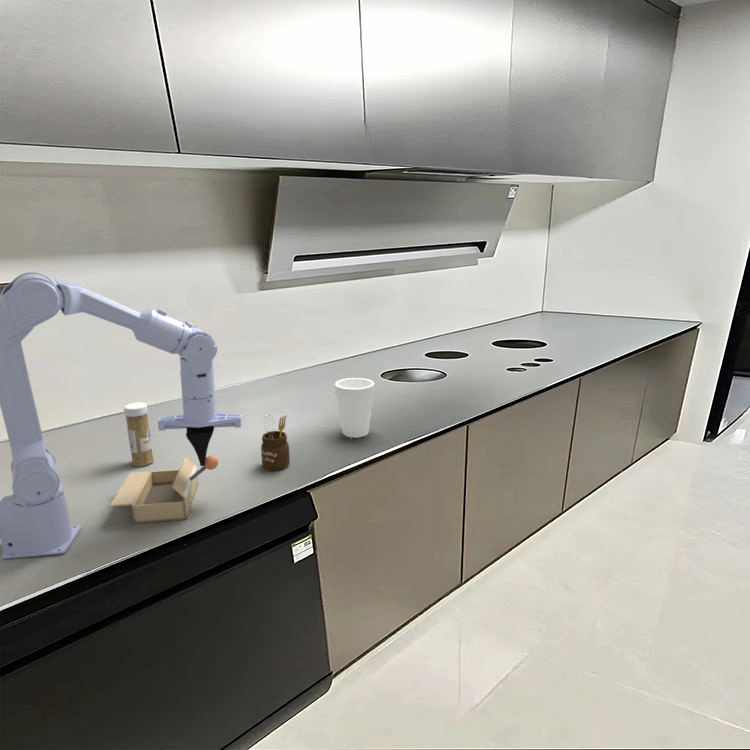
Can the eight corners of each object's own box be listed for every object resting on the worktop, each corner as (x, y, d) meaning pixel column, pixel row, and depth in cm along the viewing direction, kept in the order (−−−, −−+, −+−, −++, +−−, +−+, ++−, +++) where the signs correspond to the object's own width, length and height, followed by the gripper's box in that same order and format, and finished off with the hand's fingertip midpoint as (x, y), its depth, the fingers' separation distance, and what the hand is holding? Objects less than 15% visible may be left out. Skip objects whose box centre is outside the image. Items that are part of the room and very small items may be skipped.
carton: (112, 525, 97) (109, 506, 96) (133, 488, 111) (130, 471, 110) (186, 519, 99) (184, 501, 98) (198, 483, 112) (196, 466, 111)
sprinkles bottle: (154, 465, 121) (147, 406, 117) (131, 469, 119) (123, 409, 115) (153, 457, 125) (146, 400, 121) (131, 460, 123) (123, 403, 119)
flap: (171, 487, 98) (201, 463, 97) (184, 456, 110) (210, 435, 110) (187, 501, 99) (217, 478, 99) (198, 470, 111) (224, 449, 111)
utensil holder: (277, 456, 125) (274, 406, 121) (296, 464, 121) (294, 412, 117) (256, 465, 120) (252, 413, 117) (275, 474, 116) (272, 420, 113)
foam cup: (328, 433, 138) (327, 383, 134) (357, 424, 144) (356, 375, 140) (353, 444, 131) (352, 391, 127) (382, 434, 137) (382, 383, 133)
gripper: (241, 387, 106) (244, 453, 109) (161, 389, 103) (167, 456, 107) (238, 398, 99) (241, 468, 102) (152, 401, 97) (159, 472, 100)
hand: (203, 463), depth 104 cm, fingers closed, pressing on flap
